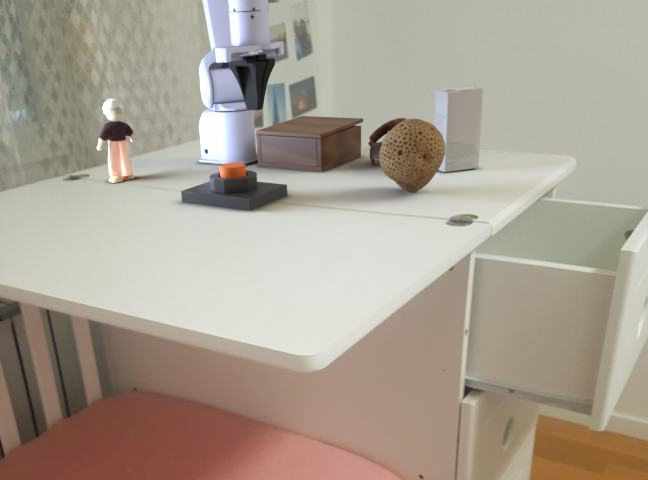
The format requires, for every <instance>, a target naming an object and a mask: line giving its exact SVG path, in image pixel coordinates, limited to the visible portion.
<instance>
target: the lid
mask: <svg viewBox="0 0 648 480" xmlns="http://www.w3.org/2000/svg"><path fill="white" fill-rule="evenodd" d="M362 123H364V118H361V117H359V118H357V117H335V116H311V115H310V116H309V115H301V116H298V117H294V118H291V119H288V120H285V121H282V122H278V123H276V124H273V125H269V126H267V127H264V128H261V129H258V130H255V135H274V136H291V137H308V138H323V137H325V136H328V135H331V134H333V133H336V132H338V131H341V130H344V129H346V128H349V127H351V126H354V125H355V126H358V125H359V124H362Z"/></svg>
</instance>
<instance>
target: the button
mask: <svg viewBox="0 0 648 480" xmlns="http://www.w3.org/2000/svg"><path fill="white" fill-rule="evenodd" d="M246 167H247V166H246V164H244V163H239V162H233V163H225V164H219V172H220V178H239V177H244V176H246V170H247V168H246Z"/></svg>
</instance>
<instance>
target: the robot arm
mask: <svg viewBox="0 0 648 480" xmlns="http://www.w3.org/2000/svg"><path fill="white" fill-rule="evenodd" d="M201 1H202V7H203V11H204V16H205V17H204V18H205V22H206V28H207V33H208V39H209V45H210V51H209V52H208V53H207V54H206V55H205V56H204V57H203V58H202V59H201V61H200V63H199V68H198V75H199V90H200V96H201V101H202V103H203V105H204V106H205V107H206V108H207V109H205V110H204V111H203V112H202V113H201V115H200V118H199V121H198V131H199V132H198V133H199V139H200V140H199V143H200V154H201V158H199V160H198V162H199V163H203V164H216V165H221V164H225V163H233V162H239V163H244V164H245V165H248V164H251V163H254V162H258V155H257V141H256V129H255V128H256V127H255V112H254V111H261V110H263V109H264V104H265V97H266V91H267V86H268V83H269V80H270V77H271V74H272V71H273V69H274V68H275V66H276V59H275V57H272V56H283V55H285V48H284V47H285V46H284V41H283V40H282V41H277V40H276V41H271V35H270V33H271V32H270V15H269V13H270V12H269V0H201ZM253 53H254V54H253Z"/></svg>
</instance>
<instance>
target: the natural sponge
mask: <svg viewBox="0 0 648 480" xmlns="http://www.w3.org/2000/svg"><path fill="white" fill-rule="evenodd" d="M381 142H382V146H381V148H380V159H379V164H380V167H381V170H382V172H383V173H384V175H385V176H387V177H388V178H389V179H390V180H391V181H393V182H395V184H396V185H397V186H398V187H400V188H401V189H402V190H403V191H405V192H408V193H415V192H418V191H420V190H422V189H423V188H425V187H426V186H427V185H428V184H429V183H430V182H431V181H432V179H433V178H434V177H435V176H436V174H437V173H438V171H440V170H439V168H440V166H441V164H442V162H443V159H444V155H445V142H444V139H443V137H442V134H441V133H440V132H439V131H438V130H437V128H436V127H435V126H434V124H433V123H431V122H429V121H424V120H423V119H420V118H407V120H404V121H402V122H400V123H399V124H398V125H396V126H395V127H394V128H392V129H391V130H390V131H388V133H387V134H385V135H384V138H383V140H382V141H381Z"/></svg>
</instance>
